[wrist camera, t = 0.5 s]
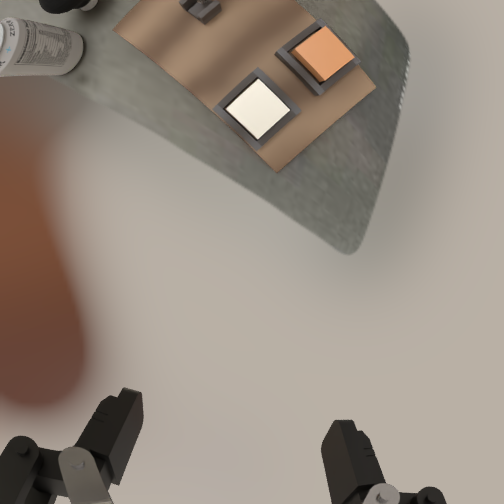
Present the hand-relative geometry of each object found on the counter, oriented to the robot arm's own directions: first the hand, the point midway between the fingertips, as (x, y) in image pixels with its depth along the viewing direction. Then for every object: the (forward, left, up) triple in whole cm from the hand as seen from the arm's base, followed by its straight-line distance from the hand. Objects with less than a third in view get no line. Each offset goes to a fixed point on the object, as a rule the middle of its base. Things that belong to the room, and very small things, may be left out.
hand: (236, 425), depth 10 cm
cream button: (-6, +9, -23) cm, 25 cm away
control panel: (-12, +13, -28) cm, 33 cm away
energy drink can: (-30, -1, -28) cm, 41 cm away
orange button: (-6, +17, -23) cm, 29 cm away
